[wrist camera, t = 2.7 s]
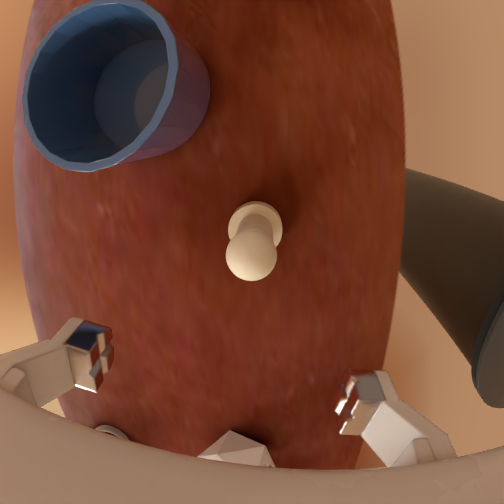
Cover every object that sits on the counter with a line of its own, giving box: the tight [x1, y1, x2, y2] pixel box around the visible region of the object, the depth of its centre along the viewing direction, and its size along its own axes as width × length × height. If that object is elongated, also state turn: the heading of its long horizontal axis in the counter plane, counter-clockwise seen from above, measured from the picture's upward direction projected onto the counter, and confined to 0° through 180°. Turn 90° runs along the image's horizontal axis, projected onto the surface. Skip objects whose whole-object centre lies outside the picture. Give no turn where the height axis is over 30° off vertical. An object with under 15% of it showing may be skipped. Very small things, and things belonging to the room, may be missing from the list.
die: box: [198, 430, 275, 467], centre depth 31 cm, size 8×9×10 cm
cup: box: [22, 0, 211, 172], centre depth 17 cm, size 10×10×9 cm
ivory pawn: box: [226, 201, 283, 281], centre depth 21 cm, size 4×4×8 cm
